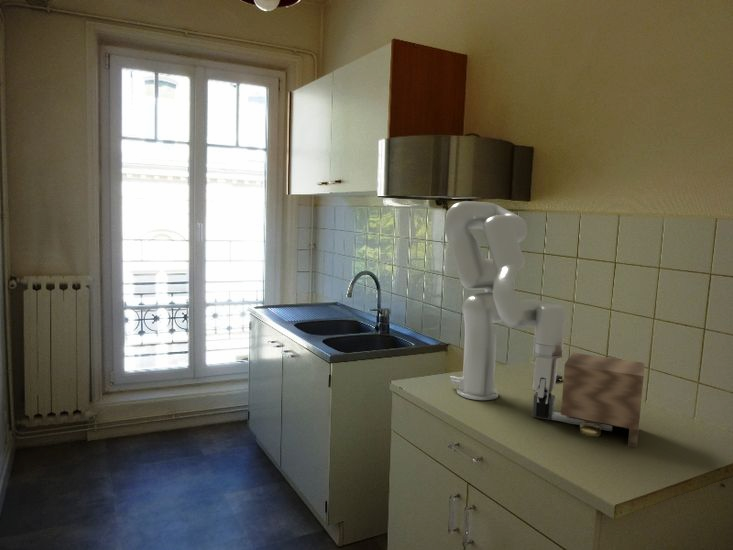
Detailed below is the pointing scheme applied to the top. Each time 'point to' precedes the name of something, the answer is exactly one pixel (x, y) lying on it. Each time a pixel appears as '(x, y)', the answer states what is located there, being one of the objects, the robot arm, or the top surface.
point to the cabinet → (604, 391)
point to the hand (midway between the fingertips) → (543, 413)
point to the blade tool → (562, 418)
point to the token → (590, 429)
